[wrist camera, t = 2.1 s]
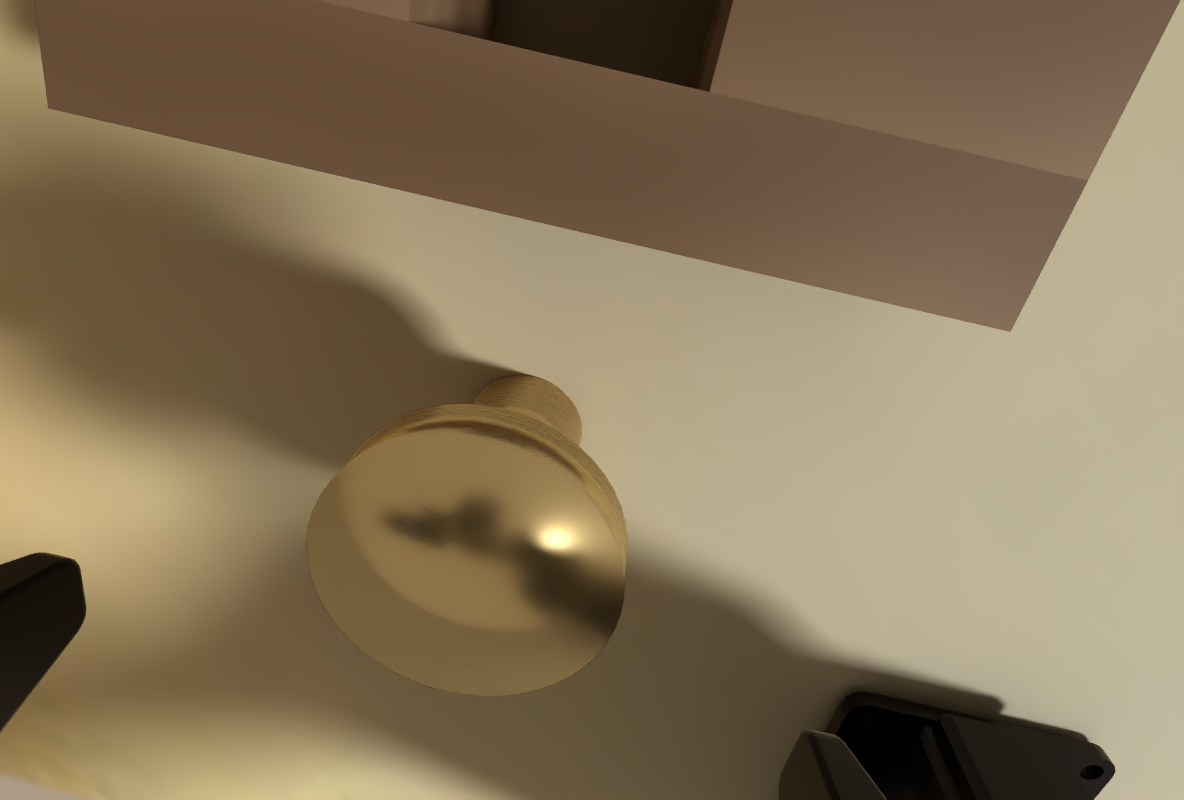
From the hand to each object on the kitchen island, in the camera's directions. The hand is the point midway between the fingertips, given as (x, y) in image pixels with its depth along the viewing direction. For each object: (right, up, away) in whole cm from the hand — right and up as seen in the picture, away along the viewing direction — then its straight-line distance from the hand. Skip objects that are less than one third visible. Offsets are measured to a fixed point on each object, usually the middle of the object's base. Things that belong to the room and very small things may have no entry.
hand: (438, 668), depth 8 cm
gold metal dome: (0, +3, +6) cm, 6 cm away
